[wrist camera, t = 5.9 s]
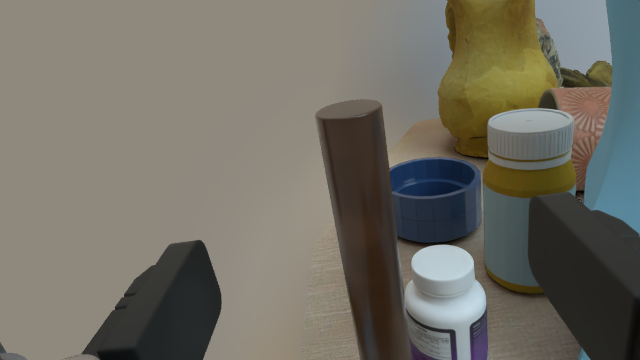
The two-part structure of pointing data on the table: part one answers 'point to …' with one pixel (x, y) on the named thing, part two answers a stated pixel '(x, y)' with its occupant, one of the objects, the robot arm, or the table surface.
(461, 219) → the bowl
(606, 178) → the vase
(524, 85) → the pitcher
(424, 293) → the pill bottle
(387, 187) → the stirring stick
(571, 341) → the table surface
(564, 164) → the bottle
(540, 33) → the rock
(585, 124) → the planter
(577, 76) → the missile
